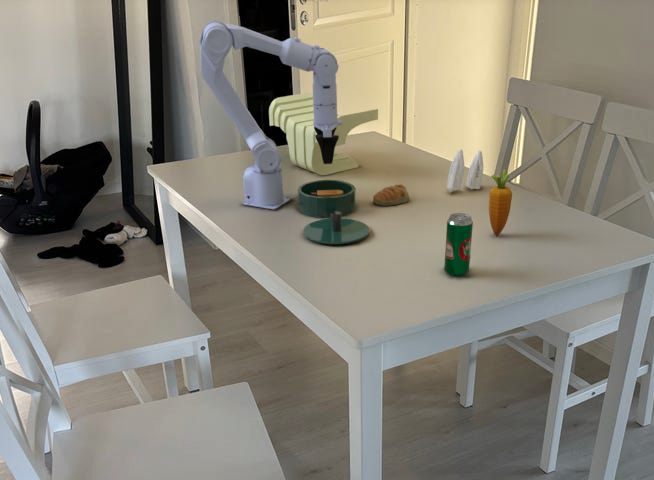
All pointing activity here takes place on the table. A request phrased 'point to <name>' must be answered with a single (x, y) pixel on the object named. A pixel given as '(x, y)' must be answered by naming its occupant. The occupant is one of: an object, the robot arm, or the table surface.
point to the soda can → (458, 244)
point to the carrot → (499, 203)
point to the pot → (326, 198)
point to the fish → (327, 193)
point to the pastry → (391, 195)
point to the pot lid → (336, 230)
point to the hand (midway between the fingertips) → (327, 159)
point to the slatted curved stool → (312, 132)
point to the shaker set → (458, 172)
